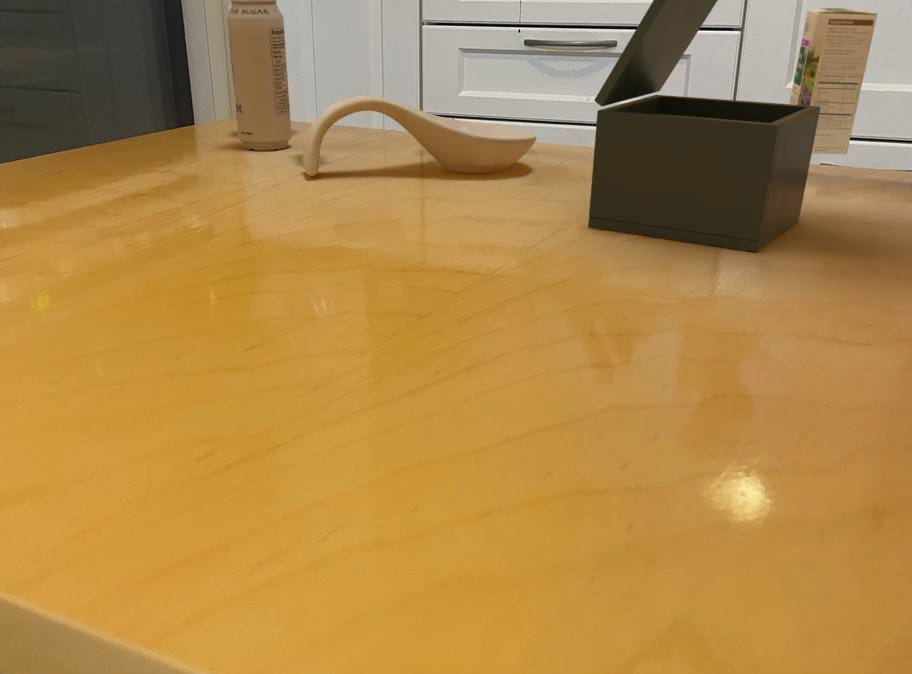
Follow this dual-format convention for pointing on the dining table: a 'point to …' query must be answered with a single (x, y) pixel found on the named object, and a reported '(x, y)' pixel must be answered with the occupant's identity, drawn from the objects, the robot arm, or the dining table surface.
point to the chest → (701, 169)
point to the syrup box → (833, 72)
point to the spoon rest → (430, 136)
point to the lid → (654, 49)
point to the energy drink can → (259, 74)
